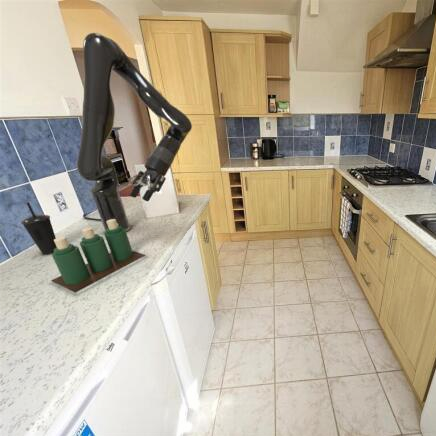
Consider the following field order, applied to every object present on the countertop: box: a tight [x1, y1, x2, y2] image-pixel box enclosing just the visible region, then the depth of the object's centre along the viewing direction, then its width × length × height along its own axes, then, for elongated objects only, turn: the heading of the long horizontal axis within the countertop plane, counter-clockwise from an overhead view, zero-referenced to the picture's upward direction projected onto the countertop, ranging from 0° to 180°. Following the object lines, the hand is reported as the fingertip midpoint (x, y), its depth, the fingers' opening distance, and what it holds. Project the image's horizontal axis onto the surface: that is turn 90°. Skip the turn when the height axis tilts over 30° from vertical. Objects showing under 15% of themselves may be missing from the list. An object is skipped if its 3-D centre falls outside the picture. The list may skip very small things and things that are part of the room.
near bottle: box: [51, 236, 90, 285], centre depth 73 cm, size 6×6×14 cm
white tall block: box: [134, 163, 180, 219], centre depth 128 cm, size 19×15×25 cm
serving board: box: [50, 250, 146, 294], centre depth 81 cm, size 14×22×1 cm, turn 155°
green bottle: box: [103, 219, 133, 261], centre depth 84 cm, size 6×6×14 cm
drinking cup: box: [20, 202, 57, 255], centre depth 90 cm, size 8×8×20 cm
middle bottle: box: [79, 226, 113, 272], centre depth 78 cm, size 6×6×14 cm
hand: (138, 198), depth 88 cm, fingers open, 8 cm apart
